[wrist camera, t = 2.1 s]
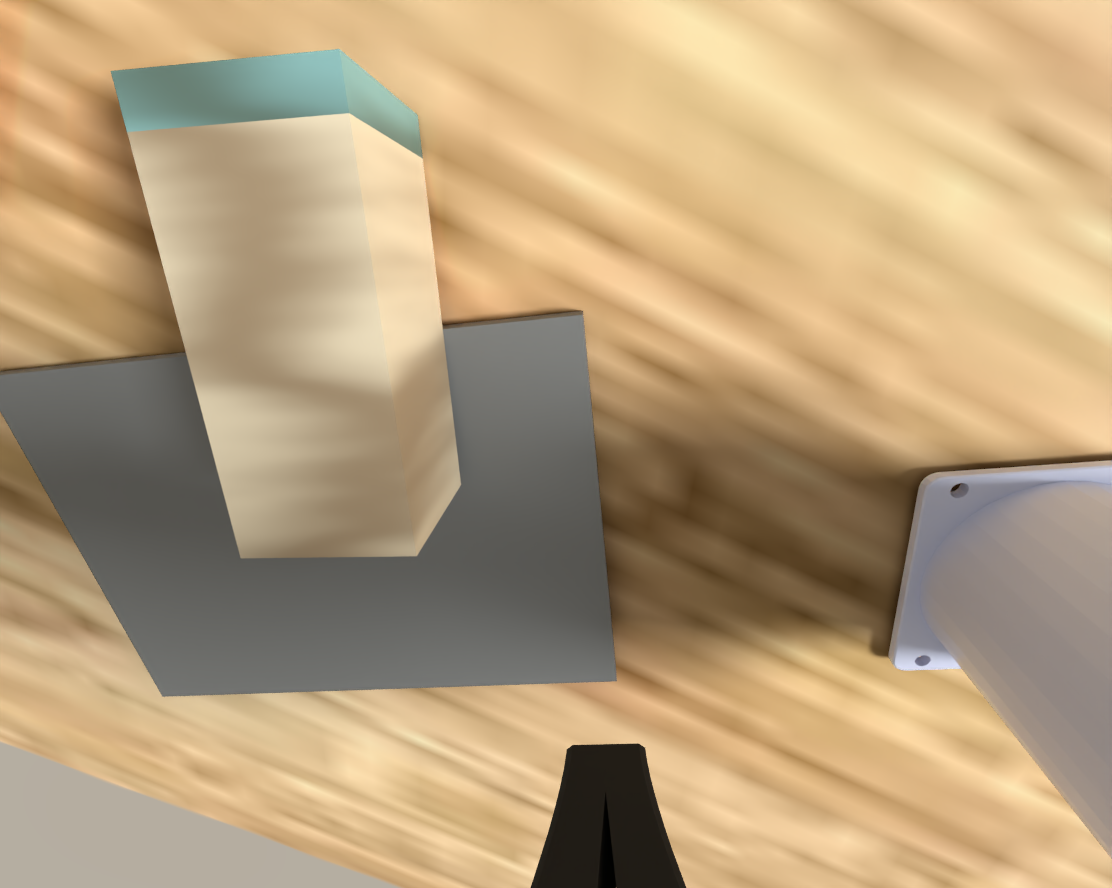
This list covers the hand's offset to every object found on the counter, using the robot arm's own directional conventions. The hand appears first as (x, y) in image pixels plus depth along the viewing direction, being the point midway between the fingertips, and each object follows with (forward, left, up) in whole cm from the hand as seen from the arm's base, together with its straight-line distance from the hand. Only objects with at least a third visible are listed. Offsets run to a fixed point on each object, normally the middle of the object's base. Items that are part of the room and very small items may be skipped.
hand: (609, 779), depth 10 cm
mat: (+9, 0, -9) cm, 13 cm away
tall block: (+6, -3, -6) cm, 9 cm away
